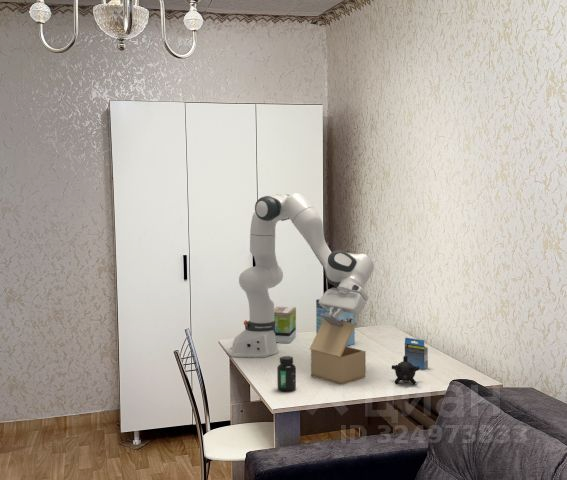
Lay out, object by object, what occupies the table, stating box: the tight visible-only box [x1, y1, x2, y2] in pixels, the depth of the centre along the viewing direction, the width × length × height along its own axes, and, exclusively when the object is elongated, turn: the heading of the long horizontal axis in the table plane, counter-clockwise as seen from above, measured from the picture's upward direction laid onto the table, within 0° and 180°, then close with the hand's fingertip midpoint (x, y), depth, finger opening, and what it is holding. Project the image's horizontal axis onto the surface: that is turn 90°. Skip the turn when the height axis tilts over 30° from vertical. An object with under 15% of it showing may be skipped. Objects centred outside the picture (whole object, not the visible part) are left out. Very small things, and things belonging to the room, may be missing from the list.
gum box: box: [315, 298, 356, 347], centre depth 325 cm, size 20×5×23 cm, turn 126°
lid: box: [309, 313, 357, 357], centre depth 274 cm, size 14×16×9 cm
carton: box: [310, 346, 367, 386], centre depth 279 cm, size 14×16×10 cm
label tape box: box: [404, 337, 429, 370], centre depth 291 cm, size 9×4×12 cm, turn 56°
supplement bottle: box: [276, 355, 297, 393], centre depth 264 cm, size 7×7×12 cm
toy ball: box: [391, 354, 420, 385], centre depth 270 cm, size 11×11×12 cm
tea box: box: [274, 306, 297, 344], centre depth 341 cm, size 15×10×15 cm, turn 168°
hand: (331, 318), depth 275 cm, fingers closed, pressing on lid
